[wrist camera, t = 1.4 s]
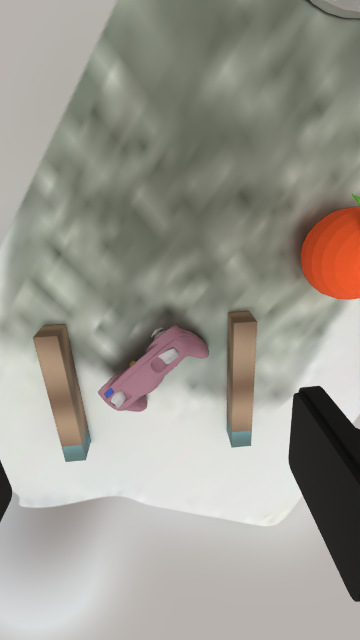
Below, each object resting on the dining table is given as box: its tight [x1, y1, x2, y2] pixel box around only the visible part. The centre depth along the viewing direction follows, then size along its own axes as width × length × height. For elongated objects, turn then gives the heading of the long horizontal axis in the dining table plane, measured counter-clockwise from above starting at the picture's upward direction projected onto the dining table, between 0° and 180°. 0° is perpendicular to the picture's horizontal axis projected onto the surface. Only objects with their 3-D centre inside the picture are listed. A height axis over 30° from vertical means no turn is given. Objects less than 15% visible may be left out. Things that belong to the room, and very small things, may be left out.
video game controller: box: [98, 325, 209, 412], centre depth 27 cm, size 10×5×7 cm, turn 133°
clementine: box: [301, 194, 360, 300], centre depth 23 cm, size 8×7×7 cm
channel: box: [33, 311, 257, 462], centre depth 30 cm, size 14×19×2 cm
